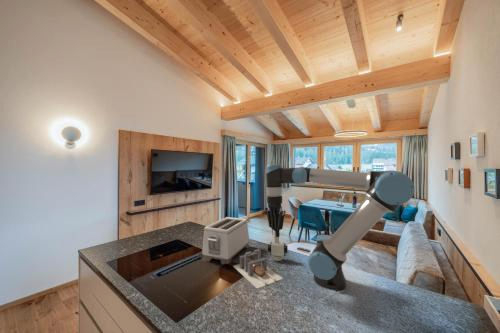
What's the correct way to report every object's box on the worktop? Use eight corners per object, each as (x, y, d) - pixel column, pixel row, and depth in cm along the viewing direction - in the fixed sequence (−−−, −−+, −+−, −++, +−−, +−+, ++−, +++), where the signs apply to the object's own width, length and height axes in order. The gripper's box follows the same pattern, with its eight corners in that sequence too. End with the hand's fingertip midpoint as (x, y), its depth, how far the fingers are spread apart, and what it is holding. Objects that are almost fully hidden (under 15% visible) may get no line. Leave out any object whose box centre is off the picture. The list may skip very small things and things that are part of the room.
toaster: (198, 262, 128) (198, 229, 128) (227, 243, 159) (226, 216, 159) (225, 268, 120) (225, 233, 120) (249, 246, 151) (249, 218, 151)
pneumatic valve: (287, 264, 124) (287, 244, 124) (268, 262, 126) (267, 242, 126) (287, 259, 129) (287, 240, 129) (269, 258, 131) (268, 239, 131)
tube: (265, 274, 110) (264, 267, 109) (259, 278, 108) (258, 270, 107) (248, 261, 125) (247, 254, 125) (242, 264, 123) (241, 257, 123)
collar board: (283, 280, 106) (282, 258, 106) (257, 290, 98) (256, 267, 98) (255, 260, 129) (255, 243, 129) (232, 267, 120) (232, 248, 120)
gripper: (289, 195, 100) (291, 244, 100) (271, 193, 111) (273, 237, 111) (277, 197, 96) (279, 248, 96) (260, 194, 107) (262, 240, 107)
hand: (276, 242), depth 103 cm, fingers closed
